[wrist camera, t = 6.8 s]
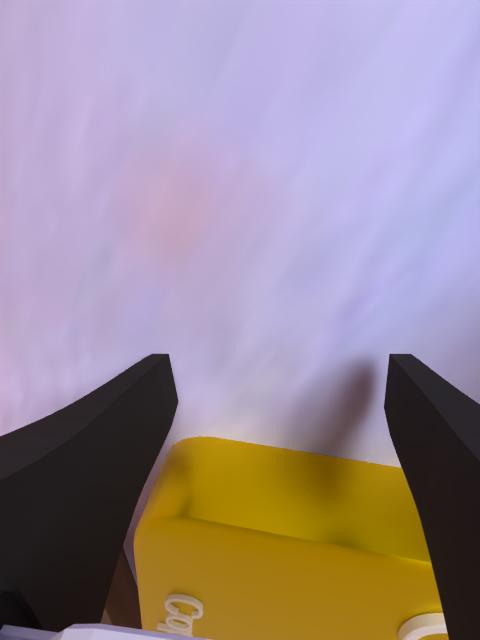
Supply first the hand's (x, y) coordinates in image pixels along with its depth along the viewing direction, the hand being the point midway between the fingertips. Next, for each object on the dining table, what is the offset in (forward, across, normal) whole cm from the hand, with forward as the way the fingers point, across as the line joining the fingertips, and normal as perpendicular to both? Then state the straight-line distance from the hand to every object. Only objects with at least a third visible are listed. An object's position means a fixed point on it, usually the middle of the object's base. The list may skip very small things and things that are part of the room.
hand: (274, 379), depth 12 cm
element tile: (+2, -1, +12) cm, 13 cm away
